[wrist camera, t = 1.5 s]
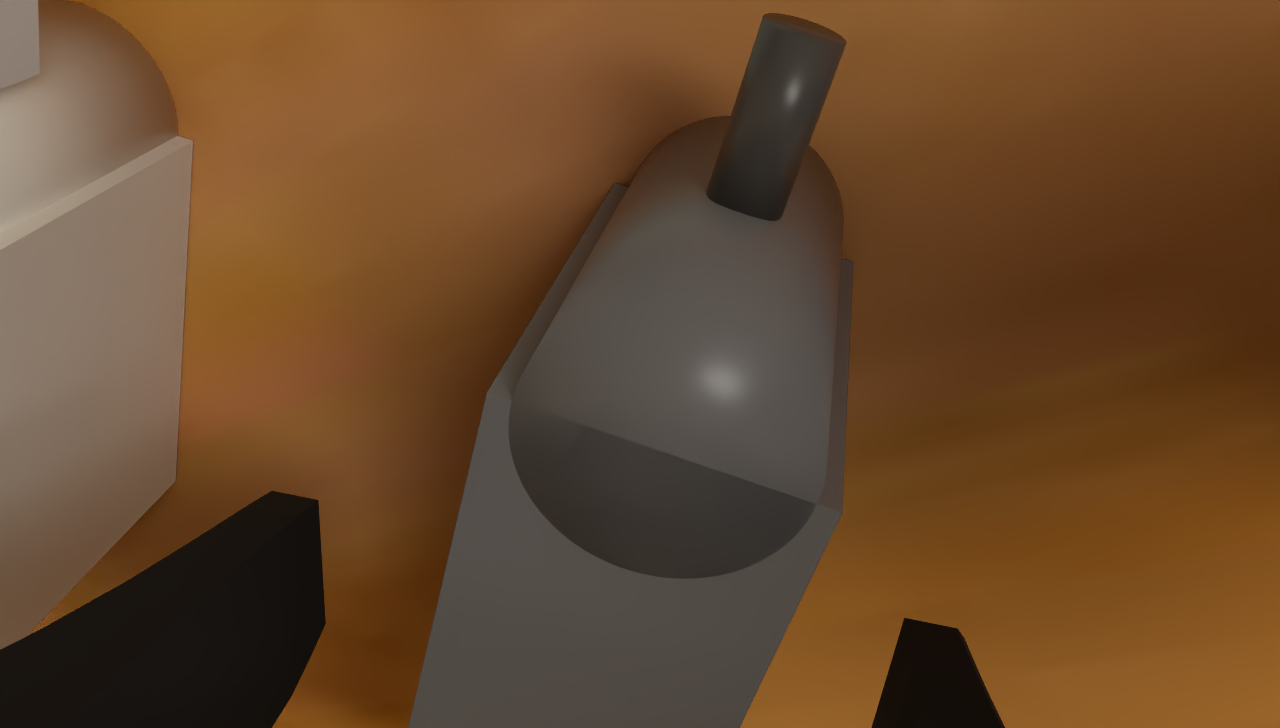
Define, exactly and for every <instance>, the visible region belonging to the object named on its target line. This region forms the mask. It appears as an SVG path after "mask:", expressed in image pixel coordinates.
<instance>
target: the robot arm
mask: <svg viewBox="0 0 1280 728" xmlns="http://www.w3.org/2000/svg"><path fill="white" fill-rule="evenodd" d="M325 624H326V623H325V606H324V589H323V572H322V555H321V538H320V521H319V504H318V500H315V499H310V498H305V497H300V496H295V495H290V494H285V493H280V492H275V491H271V492H269V493H268V494H266V495H264V496H263V497H261V498H259V499H258V500H256V501H254V502H253V503H251V504H249V505H248V506H246V507H245V508H243V509H241V510H240V511H238V512H237V513H235V514H234V515H232V516H230V517H229V518H227V519H226V520H224V521H223V522H221V523H219V524H218V525H216V526H215V527H213V528H212V529H210V530H209V531H207V532H205V533H204V534H202V535H201V536H199V537H198V538H196V539H194V540H193V541H191V542H190V543H188V544H186V545H185V546H183V547H182V548H180V549H178V550H177V551H175V552H174V553H172V554H170V555H169V556H167V557H165V558H164V559H162V560H161V561H159V562H157V563H156V564H154V565H152V566H151V567H149V568H148V569H146V570H144V571H143V572H141V573H139V574H138V575H136V576H135V577H133V578H131V579H130V580H128V581H126V582H125V583H123V584H121V585H119V586H117V587H116V588H114V589H112V590H110V591H109V592H107V593H105V594H103V595H101V596H100V597H98V598H96V599H94V600H92V601H91V602H89V603H87V604H85V605H84V606H82V607H80V608H78V609H76V610H75V611H73V612H71V613H69V614H67V615H66V616H64V617H62V618H60V619H58V620H57V621H55V622H53V623H51V624H50V625H48V626H46V627H44V628H42V629H40V630H38V631H36V632H34V633H32V634H30V635H29V636H27V637H25V638H23V639H21V640H19V641H16V642H14V643H12V644H10V645H8V646H6V647H4V648H2V649H0V728H272V726H273V725H274V723H275V722H276V720H277V719H278V717H279V715H280V714H281V712H282V711H283V709H284V707H285V706H286V704H287V702H288V701H289V699H290V698H291V696H292V694H293V692H294V690H295V688H296V686H297V684H298V682H299V680H300V678H301V676H302V673H303V671H304V669H305V667H306V665H307V663H308V661H309V659H310V657H311V654H312V652H313V650H314V648H315V646H316V644H317V641H318V639H319V637H320V635H321V633H322V630H323V628H324V626H325ZM872 728H1005V727H1004V725H1003V722H1002V720H1001V718H1000V716H999V714H998V712H997V710H996V708H995V706H994V704H993V702H992V700H991V698H990V695H989V693H988V691H987V689H986V687H985V685H984V682H983V680H982V678H981V676H980V673H979V671H978V669H977V667H976V664H975V662H974V660H973V658H972V655H971V653H970V651H969V648H968V646H967V643H966V641H965V639H964V637H963V636H962V634H961V633H960V631H959V630H958V629H957V628H952V627H947V626H942V625H937V624H932V623H927V622H922V621H917V620H912V619H907V618H904V621H903V625H902V628H901V631H900V635H899V638H898V641H897V645H896V648H895V651H894V655H893V658H892V661H891V665H890V668H889V671H888V675H887V678H886V681H885V685H884V688H883V691H882V695H881V698H880V701H879V705H878V708H877V711H876V715H875V718H874V721H873V725H872Z"/></svg>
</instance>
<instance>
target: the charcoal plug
mask: <svg viewBox="0 0 1280 728" xmlns="http://www.w3.org/2000/svg"><path fill="white" fill-rule="evenodd" d="M845 45H846V41H845V39H844V38H843V37H842V36H840V35H839V34H837V33H835V32H834V31H832V30H830V29H828V28H826V27H823V26H821V25H819V24H816V23H813V22H811V21H808V20H805V19H801V18H798V17H794V16H789V15H784V14H777V13H768V14H765V15H764V16H763V19H762V22H761V25H760V28H759V31H758V34H757V37H756V40H755V43H754V46H753V49H752V52H751V55H750V58H749V62H748V65H747V68H746V71H745V74H744V77H743V80H742V83H741V86H740V89H739V92H738V95H737V98H736V101H735V105H734V108H733V111H732V114H731V116H720V117H713V118H708V119H704V120H700V121H697V122H694V123H692V124H689V125H687V126H684V127H682V128H681V129H679V130H677V131H675V132H674V133H672V134H670V135H669V136H668V137H667V138H665V139H664V140H663V141H661V142H660V143H659V144H658V145H657V146H656V147H655V148H654V149H653V150H652V151H651V152H650V154H649V155H648V156H647V158H646V159H645V161H644V162H643V163H642V165H641V167H640V168H639V170H638V172H637V174H636V175H635V177H634V179H633V181H632V182H631V184H630V186H629V187H626V186H623V185H620V184H617V183H614V185H613V186H612V188H611V190H610V191H609V193H608V195H607V196H606V198H605V200H604V201H603V203H602V204H601V206H600V208H599V209H598V211H597V213H596V214H595V216H594V218H593V219H592V221H591V223H590V224H589V226H588V227H587V229H586V231H585V232H584V234H583V236H582V237H581V239H580V241H579V242H578V244H577V246H576V247H575V249H574V250H573V252H572V254H571V255H570V257H569V259H568V260H567V262H566V264H565V265H564V267H563V268H562V270H561V272H560V273H559V275H558V277H557V278H556V280H555V282H554V283H553V285H552V287H551V288H550V290H549V291H548V293H547V295H546V296H545V298H544V300H543V301H542V303H541V305H540V306H539V308H538V310H537V311H536V313H535V314H534V316H533V318H532V319H531V321H530V323H529V324H528V326H527V328H526V329H525V331H524V332H523V334H522V336H521V337H520V339H519V341H518V342H517V344H516V346H515V347H514V349H513V351H512V352H511V354H510V355H509V357H508V359H507V360H506V362H505V364H504V365H503V367H502V369H501V370H500V372H499V374H498V375H497V377H496V378H495V380H494V382H493V383H492V385H491V387H490V388H489V390H488V392H487V395H486V399H485V403H484V408H483V412H482V416H481V420H480V425H479V429H478V433H477V437H476V442H475V446H474V450H473V454H472V459H471V463H470V467H469V471H468V476H467V480H466V484H465V488H464V493H463V497H462V501H461V505H460V510H459V514H458V518H457V522H456V527H455V531H454V535H453V539H452V544H451V548H450V552H449V556H448V561H447V565H446V569H445V573H444V578H443V582H442V586H441V590H440V595H439V599H438V603H437V607H436V612H435V616H434V620H433V624H432V629H431V633H430V637H429V641H428V646H427V650H426V654H425V658H424V663H423V667H422V671H421V675H420V680H419V684H418V688H417V692H416V697H415V701H414V705H413V709H412V714H411V718H410V722H409V726H408V728H740V726H741V724H742V722H743V720H744V717H745V715H746V713H747V711H748V709H749V707H750V705H751V703H752V701H753V699H754V697H755V694H756V692H757V690H758V688H759V686H760V684H761V682H762V680H763V678H764V676H765V673H766V671H767V669H768V667H769V665H770V663H771V661H772V659H773V657H774V655H775V653H776V650H777V648H778V646H779V644H780V642H781V640H782V638H783V636H784V634H785V632H786V630H787V627H788V625H789V623H790V621H791V619H792V617H793V615H794V613H795V611H796V609H797V607H798V604H799V602H800V600H801V598H802V596H803V594H804V592H805V590H806V588H807V586H808V583H809V581H810V579H811V577H812V575H813V573H814V571H815V569H816V567H817V565H818V563H819V560H820V558H821V556H822V554H823V552H824V550H825V548H826V546H827V544H828V542H829V540H830V537H831V535H832V533H833V531H834V529H835V527H836V525H837V523H838V521H839V519H840V517H841V514H842V508H843V485H844V462H845V439H846V416H847V394H848V371H849V348H850V325H851V302H852V279H853V262H852V261H849V260H846V259H843V258H841V254H842V239H843V219H844V217H843V207H842V201H841V197H840V193H839V190H838V187H837V185H836V182H835V180H834V177H833V176H832V174H831V172H830V170H829V169H828V167H827V165H826V164H825V163H824V161H823V160H822V159H821V157H820V156H819V155H818V154H817V153H816V152H815V151H814V150H813V149H812V148H811V147H810V146H809V143H810V140H811V137H812V134H813V132H814V129H815V126H816V124H817V121H818V118H819V116H820V113H821V110H822V107H823V105H824V102H825V99H826V97H827V94H828V91H829V89H830V86H831V83H832V80H833V78H834V75H835V72H836V70H837V67H838V64H839V62H840V59H841V56H842V53H843V51H844V48H845Z"/></svg>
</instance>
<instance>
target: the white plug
mask: <svg viewBox="0 0 1280 728" xmlns="http://www.w3.org/2000/svg"><path fill="white" fill-rule="evenodd" d="M192 152H193V141H192V140H189V139H186V138H183V137H180V136H178V127H177V117H176V110H175V106H174V103H173V99H172V96H171V93H170V90H169V88H168V85H167V83H166V81H165V79H164V77H163V75H162V73H161V71H160V69H159V68H158V66H157V65H156V63H155V62H154V60H153V58H152V57H151V56H150V54H149V53H148V52H147V51H146V49H145V48H144V47H143V46H142V45H141V43H140V42H139V41H138V40H137V39H136V38H135V37H134V36H133V35H132V34H131V33H130V32H128V31H127V30H126V29H125V28H124V27H122V26H121V25H120V24H119V23H117V22H116V21H114V20H113V19H111V18H110V17H108V16H107V15H105V14H103V13H101V12H99V11H97V10H96V9H93V8H91V7H88V6H86V5H83V4H80V3H76V2H72V1H67V0H40V1H38V0H0V649H2V648H4V647H6V646H8V645H10V644H12V643H14V642H16V641H19V640H21V639H23V638H25V637H26V636H27V635H28V634H29V633H30V632H31V631H32V630H33V629H34V628H35V627H36V626H37V625H38V624H39V623H40V622H41V621H42V620H43V619H44V617H45V616H46V615H47V614H48V613H49V612H50V611H51V610H52V609H53V608H54V607H55V606H56V605H57V604H58V603H59V602H60V601H61V600H62V599H63V598H64V597H65V596H66V595H67V594H68V593H69V591H70V590H71V589H72V588H73V587H74V586H75V585H76V584H77V583H78V582H79V581H80V580H81V579H82V578H83V577H84V576H85V575H86V574H87V573H88V572H89V571H90V570H91V569H92V568H93V567H94V566H95V564H96V563H97V562H98V561H99V560H100V559H101V558H102V557H103V556H104V555H105V554H106V553H107V552H108V551H109V550H110V549H111V548H112V547H113V546H114V545H115V544H116V543H117V542H118V541H119V540H120V538H121V537H122V536H123V535H124V534H125V533H126V532H127V531H128V530H129V529H130V528H131V527H132V526H133V525H134V524H135V523H136V522H137V521H138V520H139V519H140V518H141V517H142V516H143V515H144V514H145V512H146V511H147V510H148V509H149V508H150V507H151V506H152V505H153V504H154V503H155V502H156V501H157V500H158V499H159V498H160V497H161V496H162V495H163V494H164V493H165V492H166V491H167V490H168V489H169V488H170V487H171V485H172V484H173V483H174V482H175V481H176V466H177V446H178V427H179V407H180V387H181V368H182V348H183V328H184V309H185V289H186V270H187V250H188V230H189V211H190V191H191V171H192Z"/></svg>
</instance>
